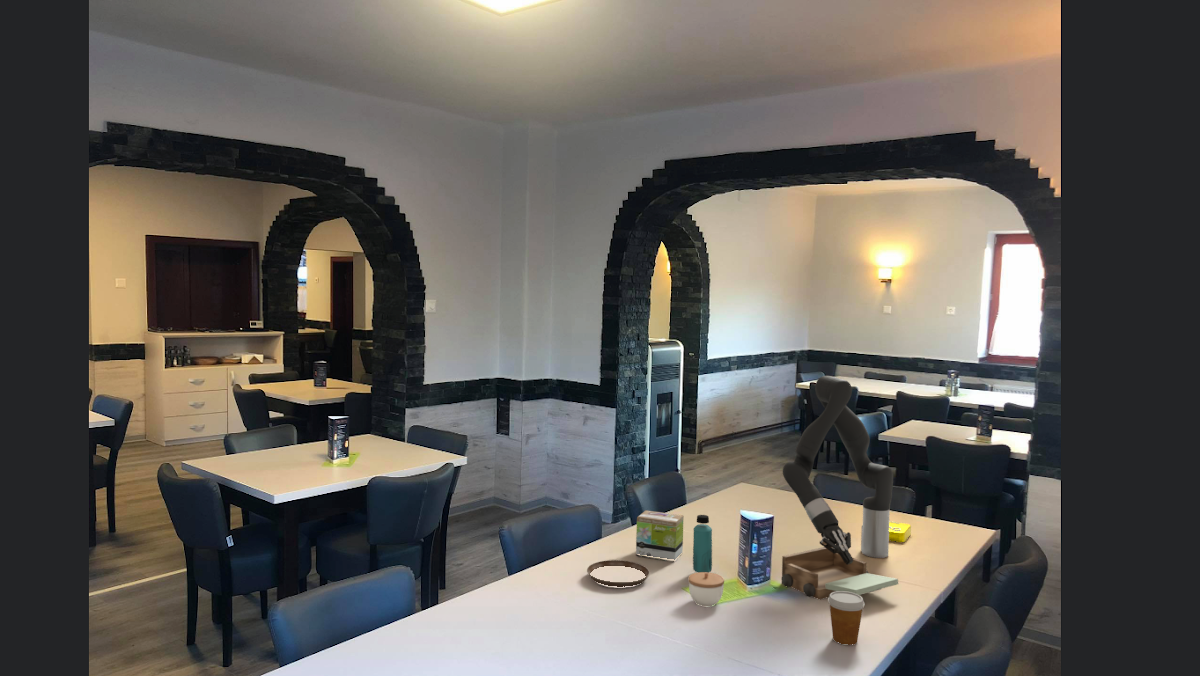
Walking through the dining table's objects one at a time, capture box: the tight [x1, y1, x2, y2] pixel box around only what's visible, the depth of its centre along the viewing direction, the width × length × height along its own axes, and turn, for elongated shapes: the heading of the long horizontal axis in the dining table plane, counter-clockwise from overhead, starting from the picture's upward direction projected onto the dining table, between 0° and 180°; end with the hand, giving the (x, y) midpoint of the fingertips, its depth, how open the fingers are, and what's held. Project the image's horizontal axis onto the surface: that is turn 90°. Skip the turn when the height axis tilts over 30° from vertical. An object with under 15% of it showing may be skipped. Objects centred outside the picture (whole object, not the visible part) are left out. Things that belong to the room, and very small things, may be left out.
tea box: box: [635, 509, 684, 560], centre depth 275 cm, size 15×10×15 cm, turn 68°
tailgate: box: [825, 572, 899, 596], centre depth 236 cm, size 2×19×12 cm
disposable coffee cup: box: [827, 591, 865, 646], centre depth 206 cm, size 10×10×12 cm
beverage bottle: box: [692, 514, 713, 573], centre depth 256 cm, size 6×7×20 cm
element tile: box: [889, 520, 912, 543], centre depth 304 cm, size 15×15×5 cm
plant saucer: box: [586, 559, 650, 587], centre depth 251 cm, size 21×21×3 cm
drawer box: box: [781, 546, 869, 600], centre depth 248 cm, size 16×26×9 cm, turn 121°
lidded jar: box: [688, 572, 725, 607], centre depth 231 cm, size 11×11×9 cm
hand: (850, 563), depth 240 cm, fingers closed
